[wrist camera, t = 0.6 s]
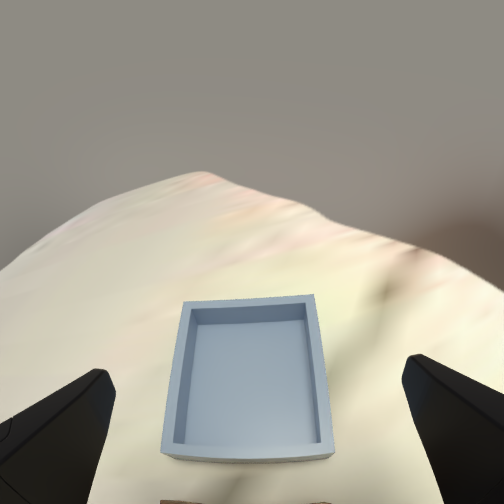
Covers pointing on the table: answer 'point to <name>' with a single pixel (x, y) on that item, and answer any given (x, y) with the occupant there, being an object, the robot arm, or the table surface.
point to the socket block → (181, 503)
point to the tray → (248, 383)
